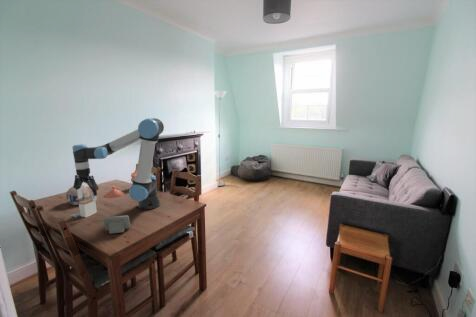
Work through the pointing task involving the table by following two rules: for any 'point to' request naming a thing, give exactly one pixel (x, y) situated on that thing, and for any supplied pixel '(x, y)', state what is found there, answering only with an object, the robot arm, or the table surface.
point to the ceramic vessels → (117, 193)
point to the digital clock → (116, 224)
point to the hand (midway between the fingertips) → (87, 199)
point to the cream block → (87, 207)
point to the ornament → (73, 197)
